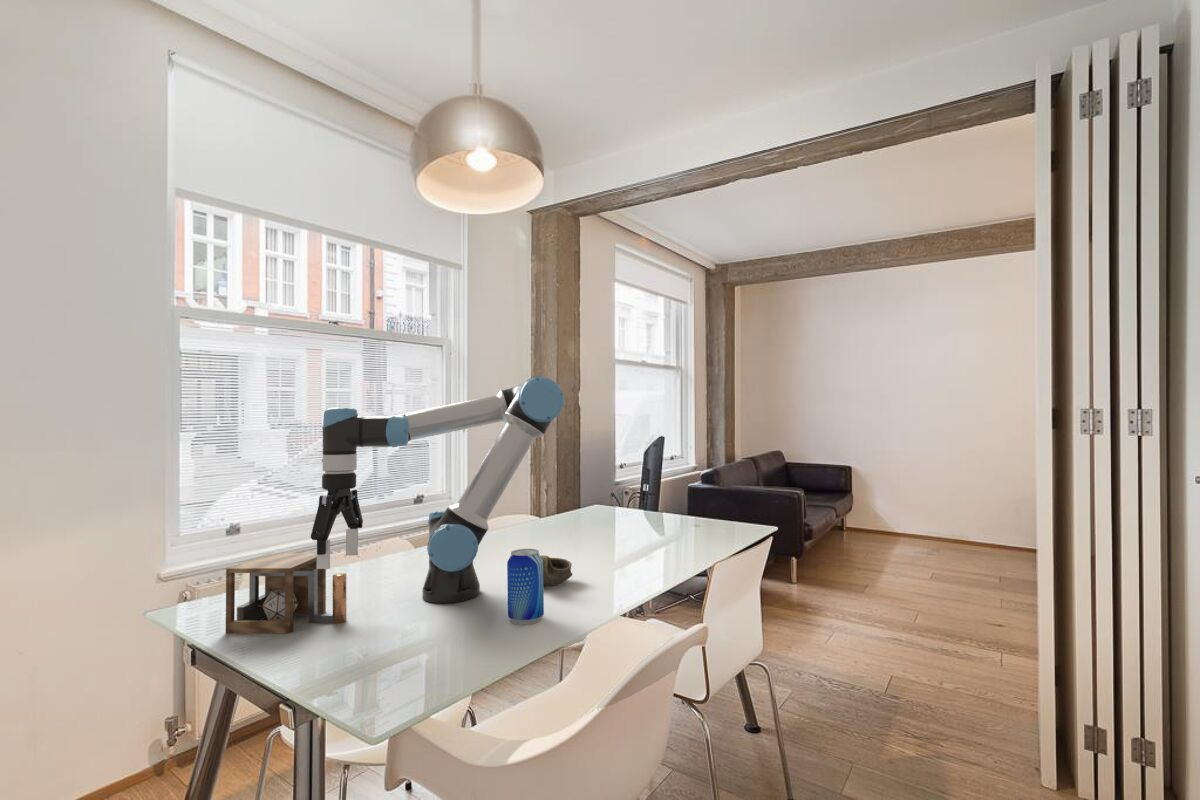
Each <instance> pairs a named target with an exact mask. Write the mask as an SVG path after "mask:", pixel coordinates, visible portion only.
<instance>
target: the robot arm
mask: <svg viewBox="0 0 1200 800" xmlns="http://www.w3.org/2000/svg"><path fill="white" fill-rule="evenodd" d="M564 402H565V397H564V393H563V390H562V388H561V387H560V385H559V384H558V382H556V381H554V380H553V379H552V378H548V377H546V376H534V377H533V376H532V377H530V378H529V379H527V380H525V381H524V382H522V383H520V384H518V385H516V386H513V387H510V388H507V389H501V390H499V392H498V393H496V394H495V395H494V394H493V395H491V396H484V397H480V398H476V399H470V400H465V401H459V402H455V403H450V404H445V405H440V406H435V407H430V408H424V409H420V410H415V411H411V412H406V413H402V414H401V413H400V414H396V415H383V416H381V415H380V416H379V415H377V416H373V415H372V416H363V415H359V414H358V409H356V408H354V407H330V408H326V409H325V410H324V411H323V421H322V459H321V462H322V469H321V470H322V471H323V472H325V473H323V474H322V475H321V488H322V490H327V495H323V494H322V495H321V494H320V495H319V498H318V507H317V512H316V514H315V518H314V523H313V526H312V529H311V533H310V539H311V540H312V541H316V553H317V569H326V570H329V569H331V539H330V538H329V536H330V534H331V531H332V529H333V527H334V524H335V521H336V518H337V516H338V515H340V513H341V515H342V517H343V519H344V521H345V523H346V525H347V528H346V529H345V556H358V555H359V554H358V553H359V551H358V550H359V548H358V547H359V529H362V528H363V526H364V525H363V523H364V521H363V516H362V511H361V508H360V504H359V498H358V489H355V488H356V487H357V473H356V472H355V471H356V470H357V449H358V448H364V447H365V448H366V447H368V448H369V447H370V448H373V447H374V448H382V447H383V448H385V447H386V448H387V447H390V448H391V447H392V448H398V447H405V446H407V445H408V444H409V441H410V442H411V441H414V440H415V441H416V440H419V439H420V440H421V439H424V438H430V437H434V436H439V435H443V434H448V433H453V432H458V431H463V430H467V429H471V428H476V427H481V426H486V425H491V424H496V423H500V422H503V423H504V425H503V427H502V429H500V431H499V433H498V435H497V437H496V438H495V440H494V441H493V443H492V444H491V447H490V448H489V449H488V451H487V453H486V455H485V457H484V458H483V460H482V462H481V463H480V465H479V467H478V468H477V470H476V471H475V473H474V475H473V476H472V478H471V480H470V481H469V482H468V485H467V486H466V487H465V489H464V492H463V493H462V494H461V496H460V498H459V499H458V501H457V502H456V503H453V504H450V505H448V506H447V508H446V509H445V510H438V511H436V510H435V511H431V512H430V513H429V515H428V521H427V523H428V524H427V525H428V542H427V548H426V549H427V550H426V551H427V555H428V571H427V574H426V577H425V581H424V584H423V587H422V599H423V601H426V602H428V603H435V604H450V603H452V604H453V603H459V602H464V601H468V600H471V599H475V598H476V597H477V596H478V595H480V592H481V590H480V589H481V588H480V587H481V585H480V581H479V579H478V575H477V573H476V569H475V567H474V560H475V558H476V556H477V553H478V551H479V545H480V544H481V542H482V540H483V538H484V537H485V536H486V533H487V532H488V530H489V524H488V518H489V517H490V515H491V513H492V511H493V510H494V508H495V506H496V505H497V503H498V501H499V500H500V499H501V496H502V495H503V493H504V491H505V489H506V488H507V486H508V484H509V483H510V482H511V480H512V478H513V476H514V475H515V474H516V471H517V470H518V468H519V466H520V465H521V462H522V461H523V459H524V457H525V456H526V454H527V452H528V450H529V449H530V447H531V446H532V444H533V442H534V441H535V439H537V438H540V437H543V436H544V435H545V433H546V432H547V430H548V429H549V427H550V425H551V423H552V422H553V420H555V419H556V418H557V417H558V416H559V415H560V414H561V411H562V410H563V408H564Z"/></svg>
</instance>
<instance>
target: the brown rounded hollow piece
mask: <svg viewBox="0 0 1200 800" xmlns="http://www.w3.org/2000/svg"><path fill="white" fill-rule="evenodd" d="M540 556H541V558H542V559H543V587H544V586H546V587H548V586H549V587H552V586H558V585H560V584H563V583H564V582H565V581H568V580H569V579H570V578H571V577H572V576H573V572H572V571H571V570H572V562H571V561H569V560H568V559H566V558H561V557H550V556H548V555H545V554H544V555H540Z"/></svg>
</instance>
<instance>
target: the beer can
mask: <svg viewBox="0 0 1200 800" xmlns="http://www.w3.org/2000/svg"><path fill="white" fill-rule="evenodd" d="M541 556H542V555H540V550H539V549H536V548H519V549H515V550H512V551H511V552H510V556H509V559H507V562H506V565H507V567H506V569H507V573H506V574H507V578H506V579H507V617H508V618H509V619H510V621H511V623H512V624H514V625H518V626H528V625H533V624H537V623H539V622H540V621H541V620H542V618H543V616H544V615H545V613H544V611H545V610H544V609H545V608H544V607H545V605H544V600H545V599H544V586H543V559H542V558H541Z"/></svg>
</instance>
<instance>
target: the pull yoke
mask: <svg viewBox="0 0 1200 800" xmlns="http://www.w3.org/2000/svg"><path fill="white" fill-rule="evenodd" d="M265 576H285V573H249V580H248V581H249V585H248V586H249V588H248V589H249V595H248V598H249V599H248V602H246V603H243V604H241V605H239V606H237V607H236V620H264V619H265V618H267V617H266V615H265V612H264V610H263V608H262V607H259V605H262V604H263V603H264V601H265V600H266V598H267V597H268V595H265V594H262V595H260V577H265ZM293 576H308V613H307V615H308V616H307V618H308V619H307V623H309V624H329V623H331V624H335V625H338V624H344V623H345V622H347V573H345V572H338V573H335V574H332V613H318V569H298V570H295V571H293Z"/></svg>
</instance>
